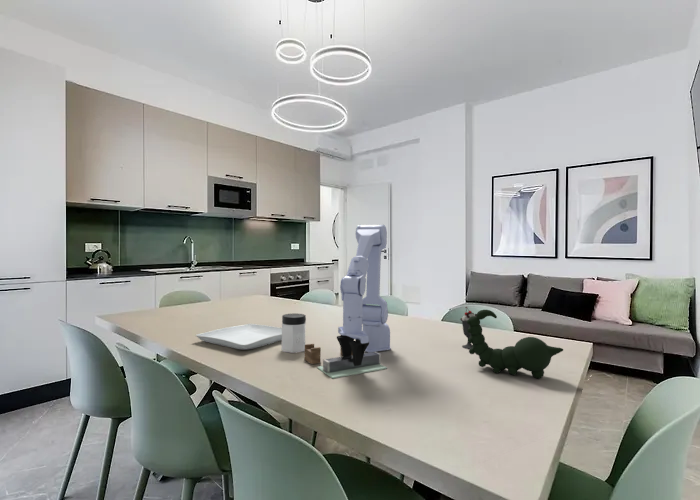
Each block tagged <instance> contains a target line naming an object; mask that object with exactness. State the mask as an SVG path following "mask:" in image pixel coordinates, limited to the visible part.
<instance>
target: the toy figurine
mask: <svg viewBox="0 0 700 500" xmlns="http://www.w3.org/2000/svg"><path fill="white" fill-rule="evenodd" d="M476 314H477V315H476V316H472V317H470V318H469V319H468V320H467V323H468V324H469V325H470V326H469V328H468V329H467V331H468V333H470V334H471V336H470V338H469V339H468V338H467V342H469V343H471V344H472V345H473V346H472V348H471V349H468V353H469V354H470V355H474V354H475V355H476V356H478V357H479V360H478V366H479V367H481V368H484V367H486V365H487V366H490V368H492V371H493V373H495V374H499V373H500V372H501V371H505V370H507V372H508V374H509V375H513V376H516V375H517V374H518V371H519V370H521V369H523V370H525V371H527V372H531V373H530V374H531V375H532V377H533V378H535V379H538V380H540V379H542V378H543V377H544V375H545V369H546V368H548V367H549V365H550V363H551V361H552V357H554V356H555V355H558V354H560V353H562V352H564V349H563V348H561V347H557V346H551V345H548V344H547V343H546V342H544V340H542V339H540V338H538V337H534V336H526V337H522V338H521V339H519V340H518V341H517V342H516V343H515V345H514V346H513V345H509V346H508V345H507V346H506V347H503V348H493V347H489V344H488V342H486V339H485V338H486V337H485V335H484V334H483V327H482V326H481V320H484V319H485V318H487V317H493V319H498V317H497V316H498V315H497V314H495V312H493V311H492V310H490V309H481V310H479V311H478V312H477V313H476Z"/></svg>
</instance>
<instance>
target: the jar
mask: <svg viewBox="0 0 700 500" xmlns="http://www.w3.org/2000/svg"><path fill="white" fill-rule="evenodd" d="M281 318H282V319H281V320H282V321H281V322H282V323H281V328H282V340H281V352H284V353H291V354H297V353H301V352H305V344H306V330H307V329H306V324H307V322H306V321H307V318H306V314H303V313H285V314H283V315H282V316H281Z"/></svg>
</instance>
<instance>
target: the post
mask: <svg viewBox="0 0 700 500" xmlns="http://www.w3.org/2000/svg"><path fill="white" fill-rule="evenodd" d="M321 353H322V352H321V346H317V347H315V343H305V351H304V354H303V355H304V359H303V360H305V361H306V362H307V363H309V364H310V365H314V364H321V356H322V355H321Z"/></svg>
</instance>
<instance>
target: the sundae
mask: <svg viewBox="0 0 700 500" xmlns="http://www.w3.org/2000/svg"><path fill="white" fill-rule="evenodd" d="M467 310H468V306H465V312H464V315H463V316H462V317H461V318H460V319H459V320H460V321H461V323H462V332H463V335H464V336H465V337H466V338H467V340H468V339H469V338H470V336H471V334H470V333H468V331H467V329H468V328H469V326H470V325H469V324H468V323H467V320H468V319H469V318H470V317H472V316H476V315H477V313H474V312H472V310H468V312H467ZM472 346H473V344H472V343H469V342H468V341H467V343H466V344H465V345H464V344H463V345H462V346H461V347H462V348H463V349H467V350H470V349H471V348H472Z"/></svg>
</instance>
